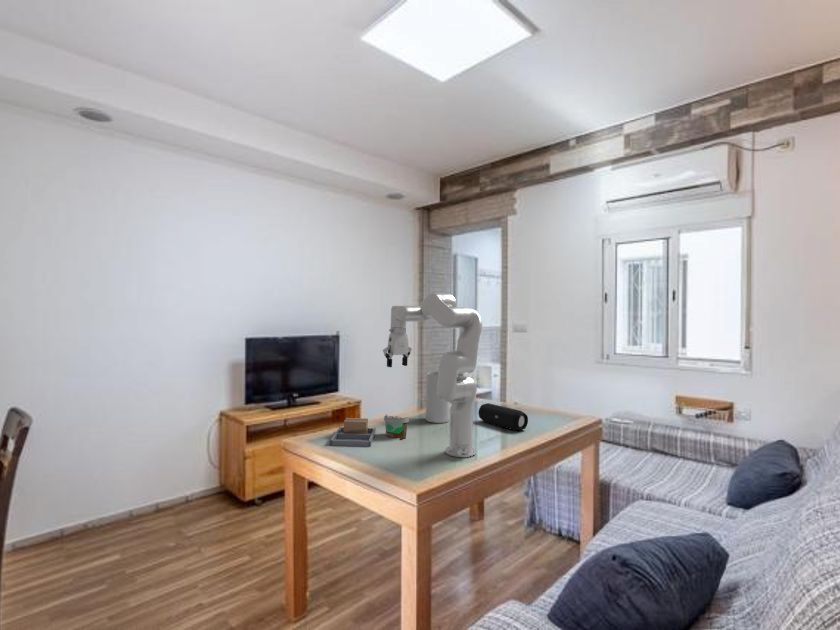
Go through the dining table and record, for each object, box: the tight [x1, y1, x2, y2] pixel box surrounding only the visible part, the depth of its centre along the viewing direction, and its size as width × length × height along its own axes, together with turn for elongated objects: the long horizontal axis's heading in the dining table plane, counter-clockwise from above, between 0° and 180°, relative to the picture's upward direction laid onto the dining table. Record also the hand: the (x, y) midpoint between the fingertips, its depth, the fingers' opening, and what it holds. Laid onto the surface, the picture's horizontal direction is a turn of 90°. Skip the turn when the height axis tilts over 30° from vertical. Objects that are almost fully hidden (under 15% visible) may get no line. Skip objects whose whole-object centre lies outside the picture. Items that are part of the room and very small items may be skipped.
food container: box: [383, 413, 410, 441], centre depth 204 cm, size 12×6×10 cm, turn 62°
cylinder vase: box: [425, 371, 451, 424], centre depth 239 cm, size 12×12×25 cm
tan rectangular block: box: [343, 417, 369, 434], centre depth 204 cm, size 6×10×7 cm, turn 90°
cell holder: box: [329, 426, 377, 448], centre depth 199 cm, size 21×17×3 cm
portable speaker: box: [478, 402, 529, 431], centre depth 232 cm, size 26×10×10 cm, turn 41°
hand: (397, 366), depth 220 cm, fingers open, 9 cm apart
